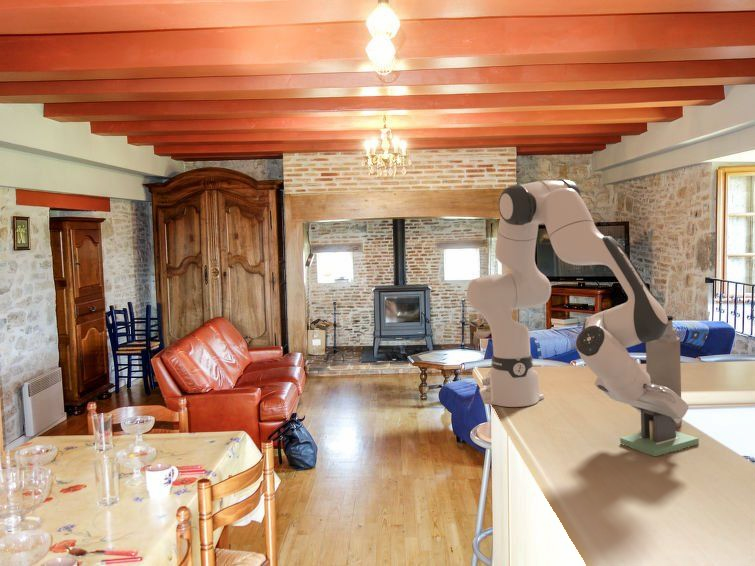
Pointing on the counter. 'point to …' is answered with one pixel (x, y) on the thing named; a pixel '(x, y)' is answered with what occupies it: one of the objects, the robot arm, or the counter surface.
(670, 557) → the counter surface
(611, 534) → the counter surface
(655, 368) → the thermos bottle
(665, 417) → the block
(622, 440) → the header board
